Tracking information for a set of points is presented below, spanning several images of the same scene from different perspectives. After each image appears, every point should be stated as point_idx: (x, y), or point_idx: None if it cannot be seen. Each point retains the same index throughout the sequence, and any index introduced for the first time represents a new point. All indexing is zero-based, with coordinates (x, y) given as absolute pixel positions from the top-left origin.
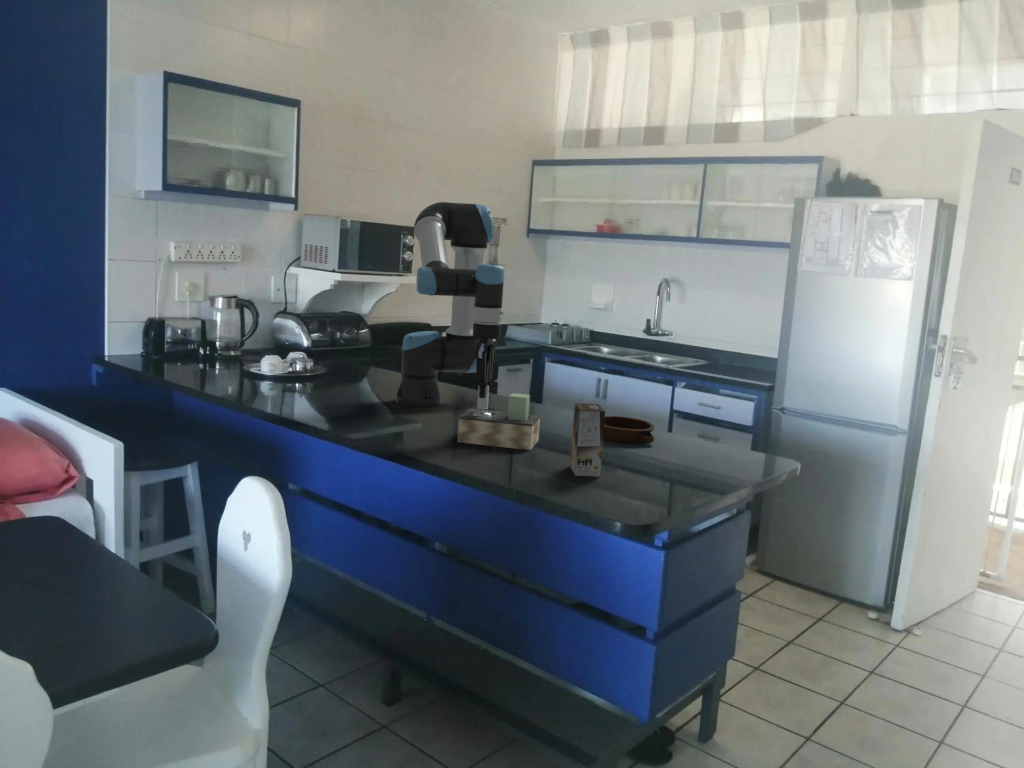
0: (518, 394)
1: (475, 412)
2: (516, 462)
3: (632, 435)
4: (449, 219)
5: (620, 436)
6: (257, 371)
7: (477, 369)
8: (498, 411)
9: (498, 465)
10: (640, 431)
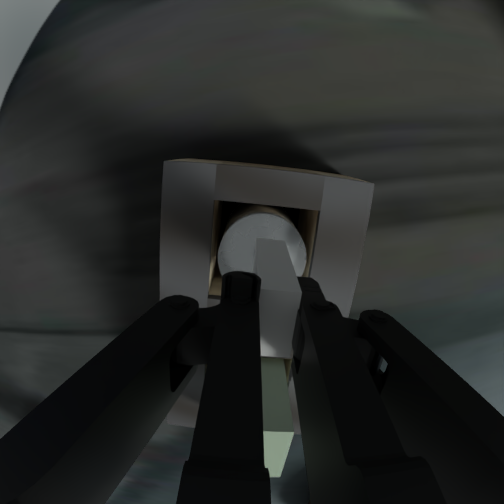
0: (268, 451)
1: (248, 227)
2: (62, 343)
3: None
4: None
5: (309, 501)
6: None
7: (82, 379)
8: (344, 312)
9: (24, 306)
10: None
